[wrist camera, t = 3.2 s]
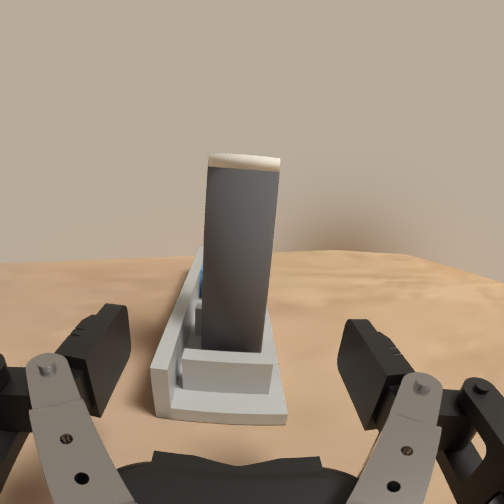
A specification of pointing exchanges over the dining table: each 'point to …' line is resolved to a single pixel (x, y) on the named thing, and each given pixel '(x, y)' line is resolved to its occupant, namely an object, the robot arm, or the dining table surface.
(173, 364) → the grey slotted rack
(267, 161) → the gray cylinder
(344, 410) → the dining table surface
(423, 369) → the dining table surface
